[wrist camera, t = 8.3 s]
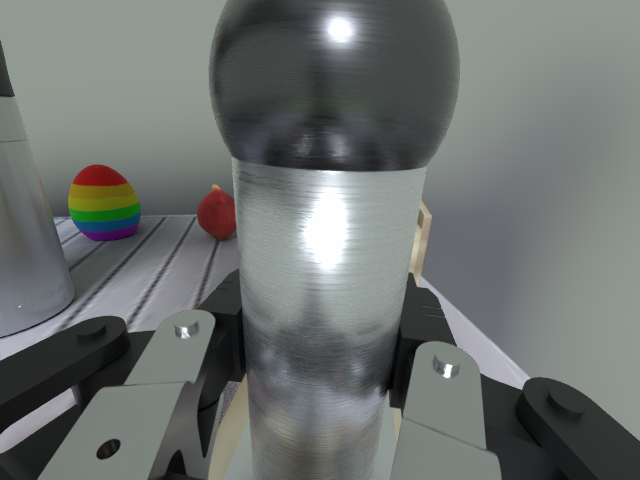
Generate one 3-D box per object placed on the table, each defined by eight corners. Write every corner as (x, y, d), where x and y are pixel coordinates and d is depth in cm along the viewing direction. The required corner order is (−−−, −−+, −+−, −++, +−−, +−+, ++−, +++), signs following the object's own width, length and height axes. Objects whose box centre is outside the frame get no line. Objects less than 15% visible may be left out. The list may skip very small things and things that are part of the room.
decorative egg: (70, 248, 38) (47, 170, 34) (84, 228, 45) (66, 161, 41) (143, 240, 42) (129, 168, 38) (145, 222, 48) (133, 160, 45)
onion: (245, 233, 46) (242, 181, 43) (237, 247, 41) (233, 190, 38) (207, 232, 46) (202, 180, 43) (194, 246, 40) (186, 188, 37)
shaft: (202, 569, 9) (51, -157, 3) (298, 314, 21) (302, 64, 16) (400, 619, 8) (666, -214, 2) (382, 325, 21) (419, 66, 15)
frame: (81, 749, 8) (-123, 526, 4) (296, 281, 33) (298, 182, 29) (500, 899, 7) (820, 790, 3) (398, 293, 31) (415, 191, 27)
